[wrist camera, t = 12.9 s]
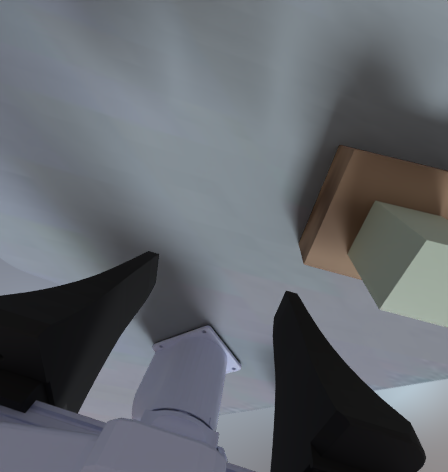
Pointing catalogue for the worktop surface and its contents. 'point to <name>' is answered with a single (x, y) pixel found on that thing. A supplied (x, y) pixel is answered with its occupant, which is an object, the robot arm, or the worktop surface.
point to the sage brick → (404, 261)
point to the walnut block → (365, 202)
